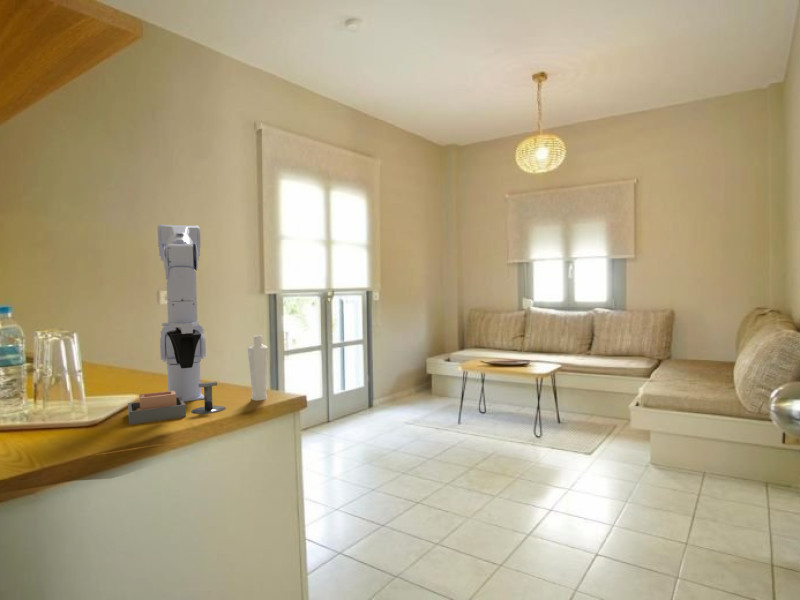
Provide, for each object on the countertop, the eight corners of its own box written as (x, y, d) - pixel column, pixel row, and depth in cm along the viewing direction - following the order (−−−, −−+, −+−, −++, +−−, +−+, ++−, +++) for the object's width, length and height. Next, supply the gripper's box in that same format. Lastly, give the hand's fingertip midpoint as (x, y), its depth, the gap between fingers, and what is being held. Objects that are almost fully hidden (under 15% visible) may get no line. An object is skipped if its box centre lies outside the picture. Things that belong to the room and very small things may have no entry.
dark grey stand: (189, 409, 107) (188, 382, 107) (222, 405, 111) (221, 378, 111) (193, 416, 101) (192, 387, 101) (228, 411, 105) (227, 383, 104)
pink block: (174, 408, 105) (174, 390, 105) (176, 413, 102) (176, 394, 102) (136, 413, 102) (136, 394, 102) (137, 418, 98) (136, 398, 98)
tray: (128, 415, 103) (127, 403, 103) (181, 408, 108) (180, 396, 108) (129, 425, 95) (128, 412, 95) (186, 417, 101) (185, 404, 100)
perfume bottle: (251, 397, 118) (249, 335, 117) (269, 396, 118) (268, 334, 118) (247, 402, 113) (245, 337, 113) (266, 401, 114) (265, 336, 113)
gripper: (158, 301, 107) (160, 362, 108) (164, 302, 95) (166, 372, 95) (193, 300, 111) (195, 359, 111) (202, 301, 98) (205, 368, 99)
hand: (184, 365), depth 104 cm, fingers open, 7 cm apart
